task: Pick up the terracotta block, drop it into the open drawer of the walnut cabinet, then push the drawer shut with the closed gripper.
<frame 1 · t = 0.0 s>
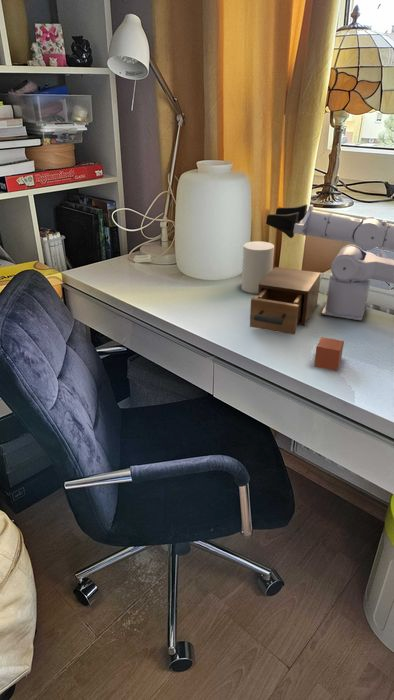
hand: (271, 215, 114), 22 cm above the table, tool horizontal, fingers open, 7 cm apart
cream upright cylinder: (256, 288, 132), on the table
block: (327, 363, 95), on the table
cabinet: (287, 311, 118), on the table
drawer: (277, 310, 108), point 4 cm above the table, slide at 6.0 cm
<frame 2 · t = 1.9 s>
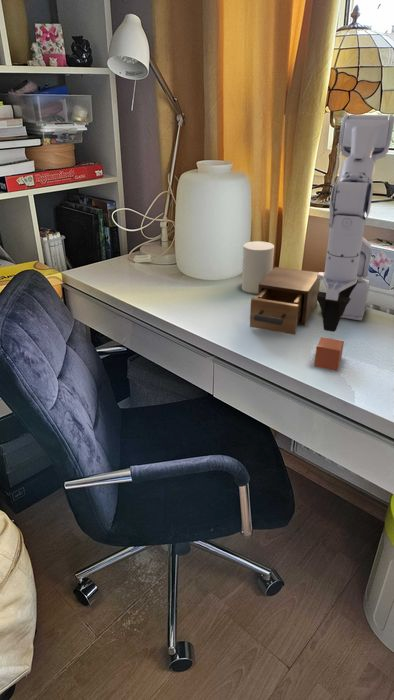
hand: (333, 322, 91), 9 cm above the table, tool pointing down, fingers open, 7 cm apart
nothing on the table moved.
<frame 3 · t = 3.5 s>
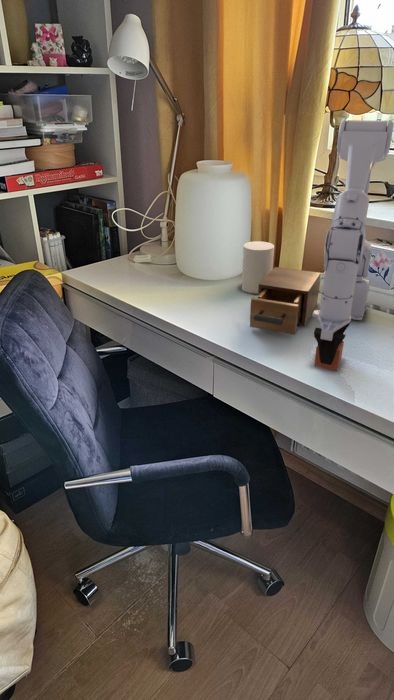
hand: (328, 357, 95), 1 cm above the table, tool pointing down, fingers closed on block, 4 cm apart
block: (327, 363, 95), on the table, touching gripper
everything else where it was.
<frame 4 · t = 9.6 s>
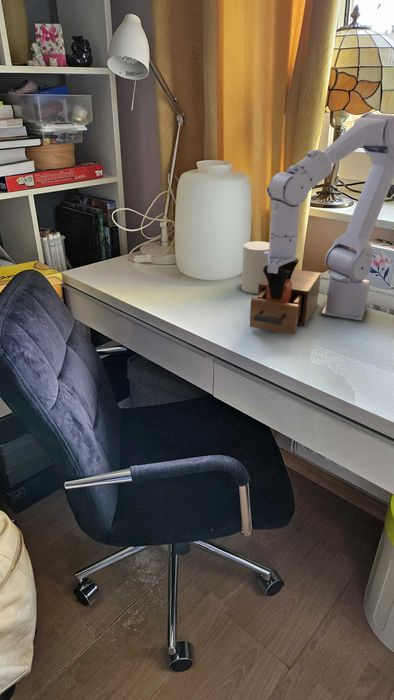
hand: (279, 294, 106), 8 cm above the table, tool pointing down, fingers closed on block, 4 cm apart
block: (278, 300, 107), point 7 cm above the table, touching gripper
everything else where it was.
when the fingers open (10 cm above the table, at t = 21.9 s): block drops 7 cm, resting on drawer.
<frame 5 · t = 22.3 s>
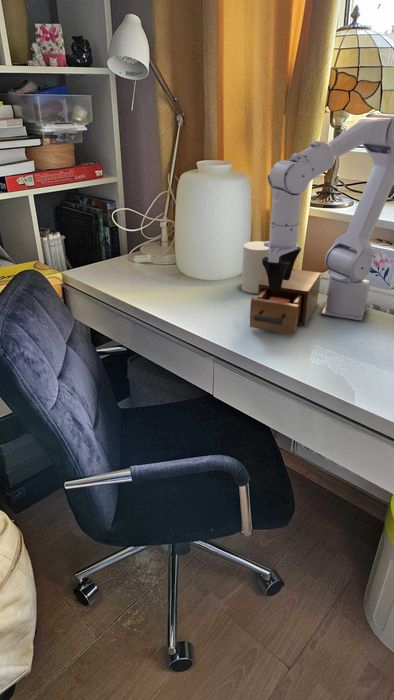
hand: (279, 284, 105), 10 cm above the table, tool pointing down, fingers open, 7 cm apart
block: (276, 319, 109), point 2 cm above the table, touching drawer
drawer: (277, 310, 108), point 4 cm above the table, slide at 6.1 cm, touching block
everything else where it was.
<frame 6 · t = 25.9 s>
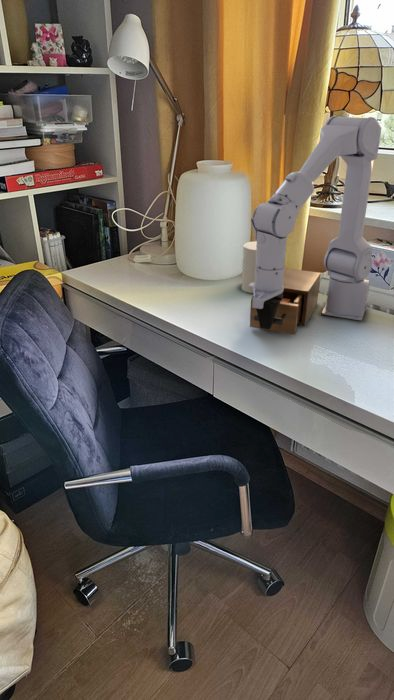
hand: (265, 327, 101), 4 cm above the table, tool pointing down, fingers closed
drawer: (277, 310, 108), point 4 cm above the table, slide at 6.0 cm, touching block, gripper
everything else where it was.
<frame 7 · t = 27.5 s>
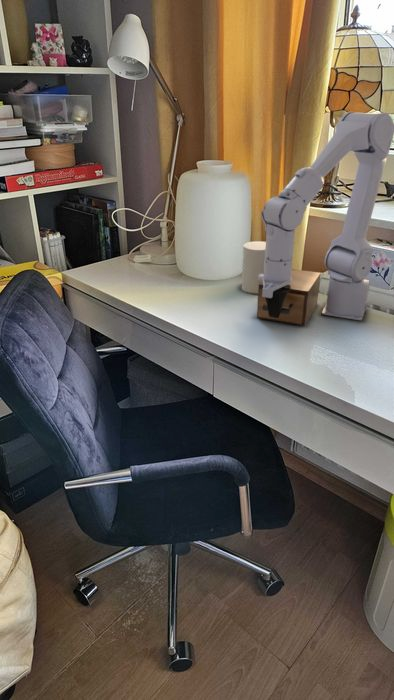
hand: (274, 316, 106), 4 cm above the table, tool pointing down, fingers closed, pressing on drawer
block: (283, 309, 114), point 2 cm above the table, touching drawer
drawer: (284, 300, 113), point 4 cm above the table, slide at 0.0 cm, touching block, cabinet, gripper
everything else where it was.
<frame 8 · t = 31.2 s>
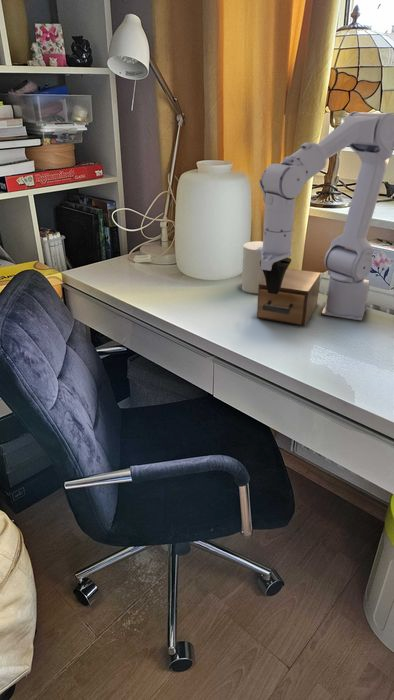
hand: (273, 292, 101), 10 cm above the table, tool pointing down, fingers closed
drawer: (284, 300, 113), point 4 cm above the table, slide at 0.0 cm, touching block, cabinet
everything else where it was.
at the end: block inside the target area in the cabinet (3.9 cm from its centre), point 2.0 cm above the cabinet's base; drawer slide at 0.0 cm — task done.
